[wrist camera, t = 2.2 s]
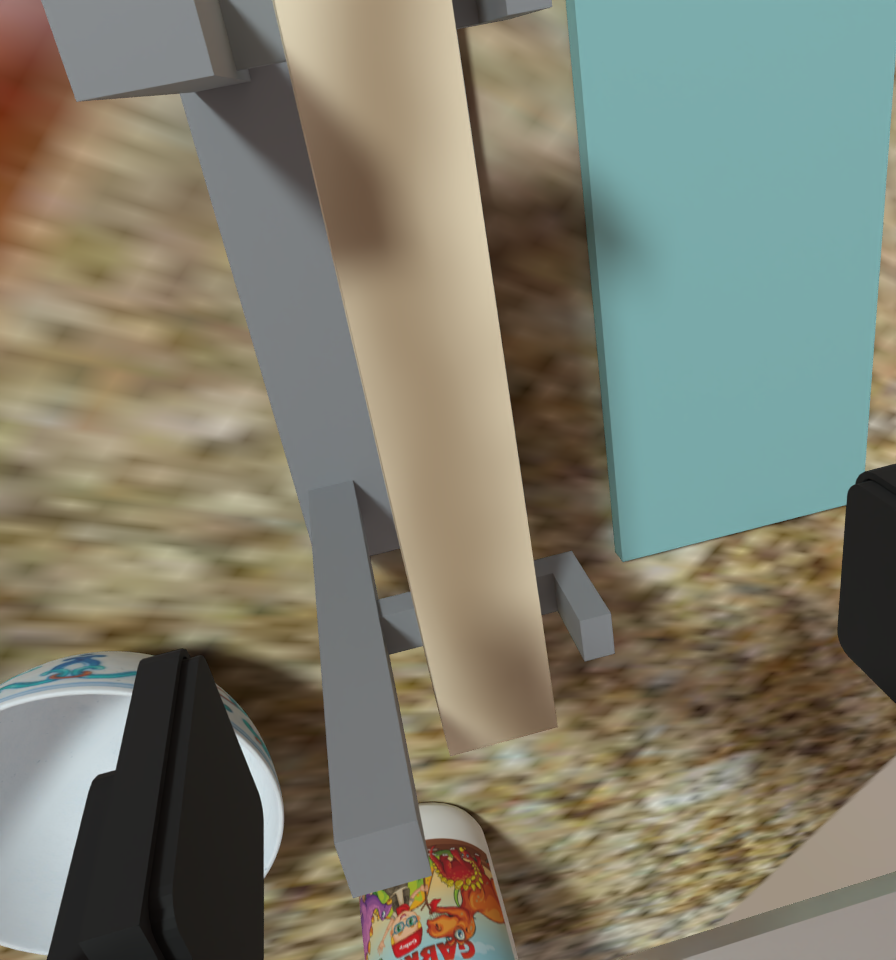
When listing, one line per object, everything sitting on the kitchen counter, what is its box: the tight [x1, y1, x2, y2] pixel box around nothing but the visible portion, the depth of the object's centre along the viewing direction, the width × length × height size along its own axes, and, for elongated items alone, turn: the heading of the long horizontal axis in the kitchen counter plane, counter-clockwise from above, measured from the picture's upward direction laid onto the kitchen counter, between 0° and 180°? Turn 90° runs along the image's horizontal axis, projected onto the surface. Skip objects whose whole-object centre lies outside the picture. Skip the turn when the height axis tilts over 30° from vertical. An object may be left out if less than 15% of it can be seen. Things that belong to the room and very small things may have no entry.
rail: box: [272, 0, 558, 756], centre depth 22 cm, size 4×24×3 cm, turn 10°
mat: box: [566, 0, 896, 562], centre depth 35 cm, size 13×30×1 cm, turn 10°
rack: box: [41, 0, 615, 898], centre depth 25 cm, size 10×24×20 cm, turn 10°
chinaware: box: [0, 651, 284, 955], centre depth 37 cm, size 15×15×8 cm
